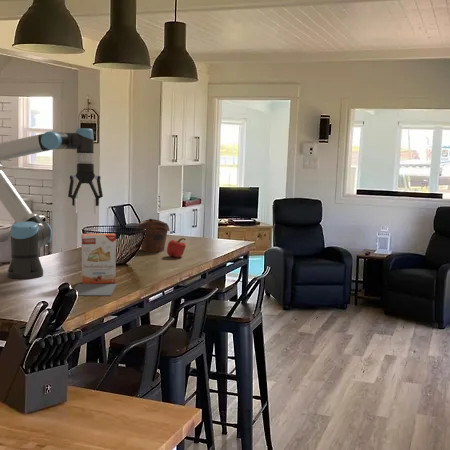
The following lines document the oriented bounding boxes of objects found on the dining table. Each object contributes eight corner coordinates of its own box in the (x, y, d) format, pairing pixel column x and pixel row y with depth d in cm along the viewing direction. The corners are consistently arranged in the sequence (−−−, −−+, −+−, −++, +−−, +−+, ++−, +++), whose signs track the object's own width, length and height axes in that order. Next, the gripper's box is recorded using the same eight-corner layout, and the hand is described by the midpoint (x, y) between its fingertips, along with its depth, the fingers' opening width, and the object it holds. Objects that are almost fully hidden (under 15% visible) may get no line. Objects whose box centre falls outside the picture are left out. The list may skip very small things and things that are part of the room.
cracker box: (82, 285, 262) (81, 235, 259) (81, 282, 268) (81, 233, 265) (116, 283, 265) (115, 234, 263) (114, 280, 271) (114, 232, 269)
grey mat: (69, 295, 242) (69, 294, 242) (78, 284, 262) (78, 283, 262) (111, 295, 243) (111, 294, 243) (116, 284, 263) (116, 283, 263)
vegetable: (181, 254, 342) (181, 236, 341) (190, 257, 334) (190, 238, 332) (163, 256, 336) (163, 237, 335) (172, 259, 328) (172, 240, 327)
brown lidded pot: (151, 246, 369) (151, 215, 367) (176, 250, 357) (176, 219, 354) (128, 250, 356) (128, 218, 353) (153, 254, 343) (153, 221, 341)
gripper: (60, 162, 279) (60, 213, 282) (107, 163, 281) (107, 214, 283) (63, 162, 287) (64, 211, 290) (109, 163, 288) (109, 212, 291)
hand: (85, 212), depth 287 cm, fingers open, 8 cm apart
